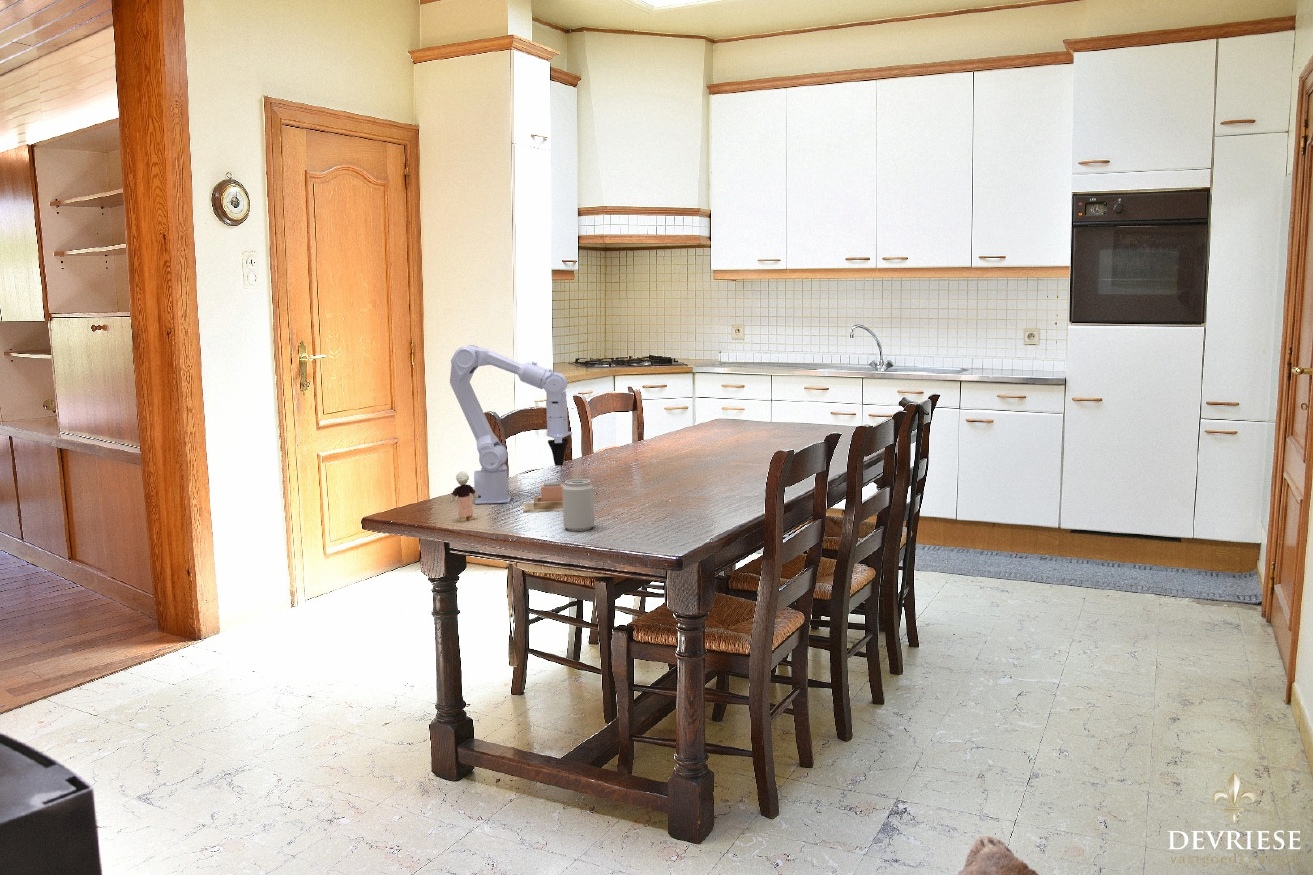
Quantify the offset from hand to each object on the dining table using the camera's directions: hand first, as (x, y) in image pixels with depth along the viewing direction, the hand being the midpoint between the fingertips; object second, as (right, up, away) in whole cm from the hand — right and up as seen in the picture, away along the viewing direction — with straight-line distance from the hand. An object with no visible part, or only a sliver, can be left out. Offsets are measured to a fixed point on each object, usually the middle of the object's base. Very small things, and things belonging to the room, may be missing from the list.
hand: (558, 465), depth 285 cm
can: (+8, -15, -34) cm, 38 cm away
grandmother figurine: (-22, -14, -21) cm, 34 cm away
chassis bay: (-1, -11, -9) cm, 14 cm away
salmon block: (-1, -11, -9) cm, 14 cm away
